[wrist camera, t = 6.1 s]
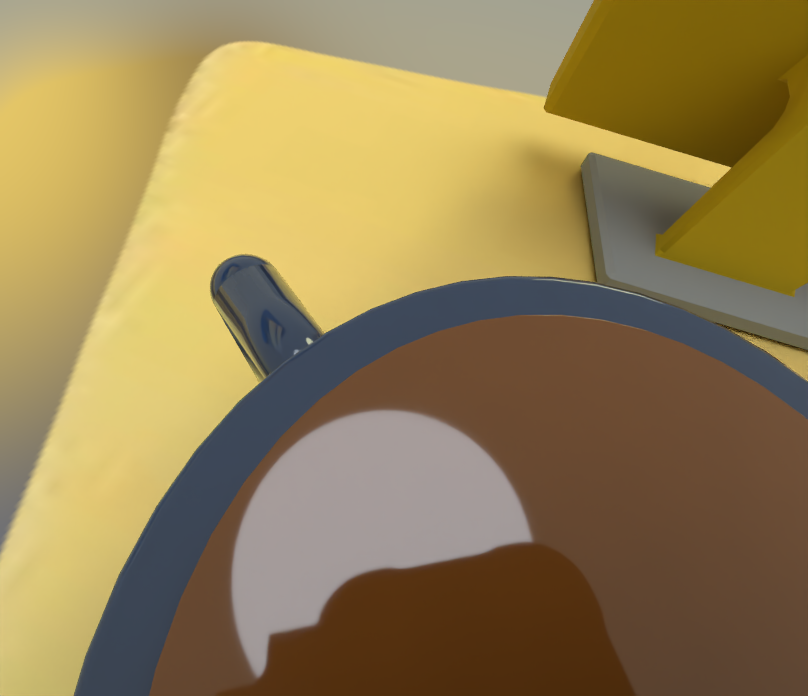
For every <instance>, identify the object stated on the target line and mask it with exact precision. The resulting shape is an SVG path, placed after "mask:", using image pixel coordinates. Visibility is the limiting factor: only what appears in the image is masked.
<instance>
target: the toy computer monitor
mask: <svg viewBox="0 0 808 696" xmlns="http://www.w3.org/2000/svg"><path fill="white" fill-rule="evenodd" d="M544 109H545V111H546V112H548V113H551V114H554V115H558V116H561V117H565V118H568V119H571V120H575V121H578V122H581V123H585V124H588V125H591V126H595V127H598V128H601V129H605V130H608V131H611V132H615V133H618V134H621V135H625V136H628V137H632V138H635V139H638V140H642V141H645V142H648V143H652V144H655V145H658V146H662V147H665V148H668V149H672V150H675V151H678V152H682V153H685V154H688V155H692V156H695V157H698V158H702V159H705V160H709V161H712V162H715V163H719V164H722V165H725V166H729V167H732V168H731V169H730V170H729V171H728V172H727V173H726V174H725V175H724V176H723V177H722V178H721V179H720V180H719V181H718V182H717V183H715V184H714V185H713V186H712V187H711V188H709V187H706V186H703V185H699V184H696V183H693V182H689V181H686V180H683V179H679V178H676V177H673V176H669V175H666V174H662V173H659V172H656V171H652V170H649V169H646V168H642V167H639V166H636V165H632V164H629V163H626V162H622V161H619V160H616V159H612V158H609V157H606V156H602V155H599V154H595V153H592V152H591V153H589V154H588V155H587V157H586V158H585V160H584V161H583V163H582V165H581V171H582V178H583V186H584V193H585V200H586V207H587V214H588V221H589V228H590V235H591V242H592V249H593V256H594V264H595V271H596V278H597V283H600V284H605V285H609V286H613V287H617V288H622V289H626V290H630V291H634V292H639V293H641V294H644V295H647V296H650V297H653V298H656V299H659V300H661V301H664V302H667V303H670V304H673V305H676V306H679V307H681V308H684V309H686V310H688V311H690V312H692V313H695V314H697V315H699V316H701V317H703V318H705V319H707V320H710V321H713V322H716V323H719V324H723V325H726V326H729V327H733V328H736V329H739V330H743V331H746V332H749V333H753V334H756V335H759V336H763V337H766V338H769V339H772V340H776V341H779V342H782V343H786V344H789V345H792V346H796V347H799V348H802V349H806V350H808V0H594V2H593V4H592V6H591V7H590V9H589V11H588V13H587V15H586V17H585V19H584V21H583V23H582V25H581V26H580V28H579V30H578V32H577V34H576V36H575V38H574V40H573V42H572V44H571V46H570V48H569V50H568V52H567V53H566V55H565V57H564V59H563V61H562V63H561V65H560V67H559V69H558V71H557V73H556V75H555V77H554V78H553V81H552V82H551V85H550V88H549V92H548V95H547V99H546V102H545V106H544Z"/></svg>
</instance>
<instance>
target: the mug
mask: <svg viewBox="0 0 808 696" xmlns="http://www.w3.org/2000/svg"><path fill="white" fill-rule="evenodd" d="M210 294H211V298H212V301H213V303H214V305H215V307H216V308H217V310H218V312H219V314H220V315H221V317H222V319H223V320H224V322H225V324H226V326H227V327H228V329H229V331H230V333H231V334H232V336H233V338H234V339H235V341H236V343H237V345H238V346H239V348H240V350H241V352H242V353H243V355H244V357H245V359H246V360H247V362H248V364H249V365H250V367H251V369H252V371H253V372H254V374H255V376H256V378H257V379H258V381H259V384H258V385H257V386H256V387H255V388H254V389H252V390H251V391H250V392H249V393H248V394H247V395H246V396H245V397H243V398H242V399H241V400H240V401H239V402H238V403H237V404H236V405H235V406H234V407H233V409H232V410H231V411H230V412H229V413H228V414H227V415H226V416H225V418H224V419H223V420H222V421H221V422H220V423H219V424H218V425H217V427H216V428H215V429H214V430H213V431H212V432H211V433H210V435H209V436H208V437H207V438H206V439H205V440H204V441H203V442H202V444H201V445H200V446H199V447H198V448H197V449H196V451H195V452H194V453H193V455H192V456H191V458H190V459H189V461H188V462H187V463H186V465H185V466H184V468H183V469H182V471H181V472H180V473H179V475H178V476H177V478H176V479H175V481H174V482H173V483H172V485H171V486H170V488H169V489H168V491H167V492H166V493H165V495H164V496H163V498H162V499H161V501H160V502H159V503H158V505H157V506H156V508H155V510H154V512H153V513H152V515H151V517H150V519H149V521H148V523H147V524H146V526H145V528H144V530H143V532H142V534H141V535H140V537H139V539H138V541H137V543H136V545H135V546H134V548H133V550H132V552H131V554H130V556H129V557H128V559H127V561H126V563H125V565H124V567H123V568H122V570H121V572H120V574H119V576H118V579H117V581H116V583H115V586H114V588H113V591H112V593H111V596H110V598H109V600H108V603H107V605H106V608H105V610H104V612H103V615H102V617H101V620H100V622H99V624H98V627H97V629H96V632H95V634H94V637H93V639H92V641H91V644H90V646H89V649H88V651H87V653H86V656H85V659H84V663H83V666H82V669H81V673H80V676H79V680H78V683H77V686H76V690H75V693H74V696H808V381H807V380H806V379H804V378H803V377H801V376H800V375H799V374H797V373H796V372H794V371H793V370H792V369H790V368H789V367H787V366H786V365H785V364H783V363H782V362H780V361H779V360H778V359H776V358H775V357H773V356H772V355H771V354H769V353H767V352H766V351H764V350H762V349H761V348H759V347H757V346H756V345H754V344H752V343H750V342H749V341H747V340H745V339H744V338H742V337H740V336H739V335H737V334H735V333H733V332H732V331H730V330H728V329H727V328H725V327H722V326H720V325H718V324H716V323H714V322H712V321H710V320H707V319H705V318H703V317H701V316H699V315H697V314H695V313H692V312H690V311H688V310H686V309H684V308H681V307H679V306H676V305H673V304H670V303H667V302H664V301H661V300H659V299H656V298H653V297H650V296H647V295H644V294H641V293H639V292H634V291H630V290H626V289H622V288H617V287H613V286H609V285H605V284H600V283H596V282H590V281H581V280H573V279H565V278H557V277H522V276H505V277H496V278H487V279H478V280H469V281H461V282H456V283H452V284H448V285H444V286H440V287H436V288H431V289H427V290H423V291H419V292H415V293H413V294H410V295H407V296H405V297H402V298H399V299H397V300H394V301H391V302H389V303H386V304H383V305H381V306H378V307H375V308H373V309H370V310H368V311H366V312H365V313H363V314H361V315H359V316H357V317H355V318H353V319H351V320H349V321H347V322H346V323H344V324H342V325H340V326H338V327H336V328H334V329H332V330H330V331H328V332H327V333H324V332H323V331H322V329H321V328H320V327H319V325H318V324H317V323H316V321H315V320H314V319H313V317H312V316H311V315H310V313H309V312H308V311H307V309H306V308H305V307H304V305H303V304H302V303H301V301H300V300H299V299H298V297H297V296H296V295H295V293H294V292H293V291H292V289H291V288H290V287H289V285H288V284H287V283H286V281H285V280H284V279H283V277H282V276H281V275H280V273H279V272H278V271H277V269H276V268H275V267H274V266H273V265H272V264H271V263H270V262H268V261H267V260H265V259H263V258H261V257H258V256H256V255H251V254H240V255H235V256H232V257H230V258H228V259H226V260H224V261H223V262H222V263H221V264H219V266H218V267H217V268H216V269H215V271H214V273H213V275H212V278H211V282H210Z"/></svg>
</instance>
